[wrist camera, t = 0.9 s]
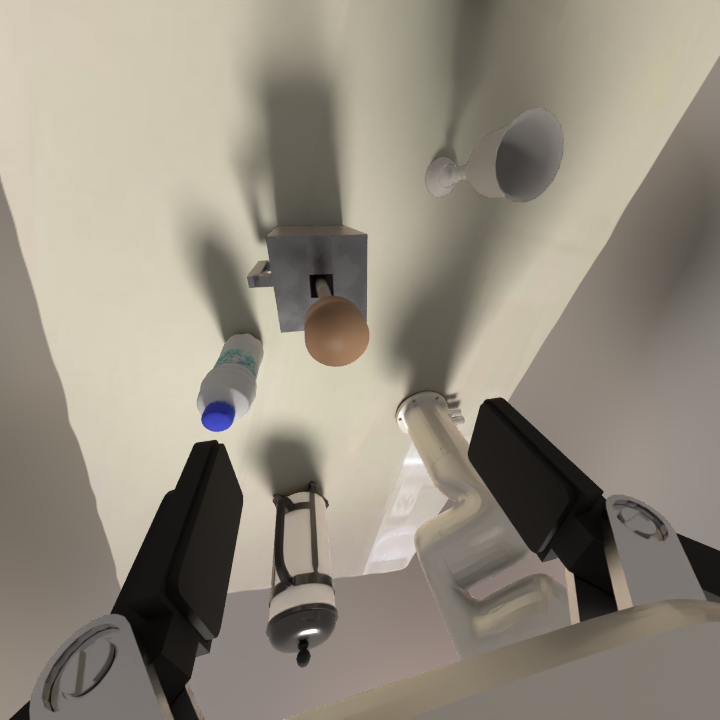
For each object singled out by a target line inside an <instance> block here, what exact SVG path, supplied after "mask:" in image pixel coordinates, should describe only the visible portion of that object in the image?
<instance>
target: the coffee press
mask: <svg viewBox="0 0 720 720" xmlns="http://www.w3.org/2000/svg"><path fill="white" fill-rule="evenodd" d="M315 489H316V483H314V482H310V483H309V487H308V490H307V492H299V493H295V494H292V495H290V496H288V497H287V496H285V497H281V496H280V495H279V494H276V495H275V496H274V498H273V503H274V504H275V506H276V509H277V511H276V526H275V540H274V554H273V568H272V582H271V583H272V588H271V592H270V600H269V607H270V617H269V621H268V624H267V628H266V634H267V636H268V637H269V640H270V643H271V645H272V647H273V648H275V649H276V650H277V651H280V652H283V653H298V652H299V653H298V655H297V659H296V660H297V663H298V665H299V666H300V667H305V666H307V665H308V663H309V660H310V657H311V655H310V653H309V651H308V650H310V649H312V648H315V647H317V646H319V645H321V644H322V643H324V642H325V641H326V640H327V639H328V638H329V637H330V636H331V634H332V633H333V631H334V628H335V624H336V621H337V619H338V611H337V609H336V607H335V601H334V595H335V589H334V581H333V578H332V569H331V558H330V547H329V537H328V526H327V515H326V509H327V507H328V506H329V504H328V502H326V501H325V502H324V500H323V498H322V497H321V496H319V495H318V494H315ZM276 498H277V499H278V500H279V502H277V500H276Z"/></svg>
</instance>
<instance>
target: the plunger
mask: <svg viewBox="0 0 720 720" xmlns="http://www.w3.org/2000/svg"><path fill="white" fill-rule="evenodd" d="M309 280H310V290H311V295H318V298H319V300H318V301H316V302H315V303H314V304H313V305H312V306H311V307H310V308H309V309H308V311H307V313H306V316H305V320H304V330H305V343H306V347H307V350H308V352H309V353H310V355H311V356H312V357H313V358H314V359H315V360H316V361H318V362H320V363H322V364H324V365H327V366H335V367H336V366H344V365H347V364H350V363H352V362H354V361H355V360H357V359H358V358H359V357H360V356H361V355H362V354H363V353H364V351H365V350H366V348H367V345H368V342H369V329H368V326H367V324H366V322H365V320H364V318H363V317H362V315H361V313H360V312H359V310H358V308H357V307H356V306H355V305H354V304H353V303H352V302H351V301H350V300H348V299H346V298H343V297H340V296H332V295H331V294H333V287H332V274H315V275H309Z"/></svg>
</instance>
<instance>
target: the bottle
mask: <svg viewBox="0 0 720 720" xmlns="http://www.w3.org/2000/svg"><path fill="white" fill-rule="evenodd" d="M262 359H263V347H262V344H261V342H260V340H258V339H256V338H254V337H253V336H252V335H251V334H249V333H245V334H235V335H233V336H231V337H230V338H229V339H228V340H227V341H226V343H225V344H224V347H223V349H222V352H221V354H220V357H219V359H218V361H217V362H216V364H215V366H214V368H213V370H211V371H210V372H209V373H208V374H207V375H206V377H205V378H204V380H203V381H202V383H201V387H200V392H199V395H198V399H197V407H198V410H199V412H200V413H201V415H202V418H201V421H202V424H203V425H204V427H205V428H207V429H208V430H210V431H214V432H220V431H224V430H226V429H228V428H229V427H230V426H231V425H232V423H234V422H237V421H239V420H241V419H242V418H243V417H245V415H246V414H247V413H248V411H249V409H250V406H251V404H252V402H253V401H254V399H255V396H256V388H257V386H256V378H257V374H258V370H259V367H260V364H261V362H262Z"/></svg>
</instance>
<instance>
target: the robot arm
mask: <svg viewBox="0 0 720 720" xmlns="http://www.w3.org/2000/svg"><path fill="white" fill-rule="evenodd" d="M454 415H455V417H452V416H454ZM456 415H461V410H460V409H455V410H450V409H448V404H447V402H446V400H445V399H444V398H443V396H441V395H440V394H438V393H436V392H429V391H426V392H421V393H417V394H415V395H413V396H411V397H409V398H408V399H406V400H405V401H404V402H403V403H402V404H401V406H400V407H399V409H398V411H397V414H396V423H397V425H398V427H399V429H400V430H401V431H402V432H403V433H405V434H407V435H410V437H411V439H412V441H413V443H414V445H415V447H416V449H417V451H418V453H419V455H420V457H421V459H422V461H423V463H424V465H425V467H426V469H427V471H428V473H429V475H430V478H431V479H432V481H433V483H434V485H435V487H436V488H437V489H438V490H439V491H440V492H441V493H442V494H443V495H445V496H446V497H448V498H450V499H452V500H454V501H456V502H458V504H456V505H454V506H453V507H452V508H450V509H448V510H447V511H445V512H443V513H441V514H440V515H438V516H436V517H434V518H432V519H431V520H429V521H427V522H426V523H424V524H423V525H421V526H420V527H419V528H418V529H417V531H416V533H415V537H414V542H415V548H416V552H417V555H418V558H419V561H420V564H421V566H422V569H423V571H424V574H425V576H426V579H427V581H428V583H429V586H430V588H431V591H432V593H433V596H434V598H435V601H436V603H437V606H438V608H439V611H440V613H441V615H442V618H443V621H444V623H445V625H446V628H447V630H448V633H449V635H450V638H451V640H452V643H453V645H454V648H455V650H456V652H457V655H458V657H459V659H460V661H458V662H455V663H452V664H449V665H446V666H443V667H440V668H437V669H434V670H430V671H427V672H424V673H421V674H419V675H415V676H412V677H409V678H406V679H403V680H400V681H397V682H394V683H391V684H388V685H385V686H382V687H379V688H376V689H372V690H369V691H367V692H363V693H361V694H358V695H354V696H351V697H348V698H345V699H342V700H339V701H336V702H333V703H330V704H327V705H324V706H321V707H318V708H315V709H312V710H309V711H306V712H303V713H300V714H297V715H294V716H291V717H288V718H285V719H282V720H720V551H718V550H716V549H714V548H711V547H709V546H707V545H704V544H702V543H699V542H697V541H694V540H692V539H690V538H687V537H685V536H682V535H680V534H677V533H676V532H675V531H674V529H673V528H672V526H671V524H670V523H669V522H668V521H667V520H666V519H665V518H664V517H663V516H662V515H661V514H660V513H659V512H657V511H656V510H655V509H653V508H652V507H650V506H649V505H647V504H645V503H644V502H642V501H639V500H637V499H635V498H632V497H628V496H625V495H612V496H610V497H608V499H607V500H606V499H605V498H604V497H603V496H602V494H603V490H602V489H600V488H599V487H598V486H597V485H596V484H595V483H594V482H593V481H592V480H591V479H590V478H589V477H588V476H586V475H585V474H584V473H583V472H582V471H581V470H580V469H579V468H578V467H577V466H576V465H575V464H574V463H572V462H571V461H570V460H569V459H568V458H567V457H566V456H565V455H564V454H563V453H562V452H561V451H560V450H558V449H557V448H556V447H555V446H554V445H553V444H552V443H551V442H550V441H549V440H548V439H547V438H546V437H544V436H543V435H542V434H541V433H540V432H539V431H538V430H537V429H536V428H535V427H534V426H533V425H532V424H531V423H529V422H528V421H527V420H526V419H525V418H524V417H523V416H522V415H521V414H520V413H519V412H518V411H516V410H515V409H514V408H513V407H512V406H511V405H510V404H509V403H508V402H507V401H506V400H505V399H503V398H493V399H487V400H485V401H484V402H483V404H481V406H480V409H479V412H478V416H477V420H476V423H475V427H474V431H473V434H472V438H471V442H470V445H469V444H468V442H467V441H466V439H465V438H464V437H463V435H462V434H461V432H460V431H459V430H458V428H457V427H456V426H455V424H456V425H458V424H464V422H465V420H464V417H463V416H456ZM242 507H243V494H242V491H241V489H240V486H239V483H238V480H237V478H236V475H235V472H234V470H233V467H232V464H231V462H230V459H229V456H228V453H227V451H226V448H225V446H224V444H223V443H222V444H219V443H218V441H217V440H211V441H205V442H198V443H195V444H194V446H193V448H192V451H191V453H190V455H189V458H188V460H187V462H186V464H185V467H184V469H183V471H182V474H181V476H180V478H179V481H178V483H177V485H176V488H175V490H171V491H169V492H168V493H167V494H166V495H165V497H164V498H163V500H162V502H161V504H160V506H159V509H158V511H157V513H156V515H155V517H154V519H153V522H152V524H151V526H150V528H149V530H148V533H147V535H146V537H145V539H144V541H143V544H142V546H141V548H140V550H139V552H138V555H137V557H136V559H135V561H134V563H133V565H132V568H131V570H130V572H129V574H128V576H127V579H126V581H125V583H124V585H123V587H122V590H121V592H120V594H119V596H118V598H117V600H116V603H115V605H114V607H113V609H112V611H111V614H110V615H104V616H102V617H99V618H97V619H95V620H92V621H91V622H89V623H88V624H86V625H85V626H83V627H82V628H80V629H79V630H77V631H76V632H75V633H74V634H73V635H72V636H71V637H70V638H68V639H67V640H66V641H65V642H64V643H63V644H62V645H61V646H60V648H59V649H58V650H57V651H56V652H55V654H54V655H53V656H52V657H51V659H50V660H49V661H48V663H47V664H46V666H45V668H44V669H43V671H42V672H41V674H40V676H39V677H38V680H37V682H36V684H35V687H34V689H33V692H32V694H31V700H30V701H29V702H28V703H27V704H25V705H24V706H23V707H22V708H21V709H20V710H19V711H18V712H17V713H16V714H15V715H14V716H13V717H11V718H10V719H9V720H204V717H203V715H202V713H201V710H200V708H199V706H198V704H197V701H196V699H195V697H194V694H193V692H192V690H191V687H190V685H189V683H188V681H189V680H190V679H191V675H192V671H193V666H194V661H195V657H197V656H201V655H204V654H208V653H209V652H210V647H211V642H212V639H214V638H216V637H218V635H219V632H220V628H221V623H222V618H223V612H224V607H225V601H226V596H227V590H228V585H229V579H230V574H231V568H232V562H233V557H234V551H235V546H236V540H237V535H238V529H239V524H240V518H241V513H242ZM532 552H534V553H536V554H537V555H538V557H539V558H540V560H541V561H542V562H545V561H549V560H553V559H556V558H557V557H558V558H559V559H560V560H561V562H562V563H563V564H564V566H565V574H566V583H567V590H566V588H565V587H564V586H563V585H562V584H561V583H560V582H559V581H558V580H556V579H555V578H554V577H552V576H550V575H548V574H544V573H537V574H532V575H529V576H526V577H524V578H522V579H519V580H517V581H515V582H513V583H511V584H509V585H507V586H505V587H503V588H501V589H499V590H497V591H495V592H493V593H491V594H489V595H487V596H485V597H483V598H481V599H476V598H473V597H472V596H471V594H470V593H469V592H468V590H467V589H469V588H471V587H473V586H475V585H477V584H479V583H481V582H483V581H485V580H487V579H489V578H490V577H494V576H496V575H498V574H500V573H502V572H504V571H505V570H507V569H509V568H511V567H513V566H515V565H517V564H519V563H520V562H522V561H523V560H525V559H526V558H527V557H528V556H529V555H531V554H532Z"/></svg>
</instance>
